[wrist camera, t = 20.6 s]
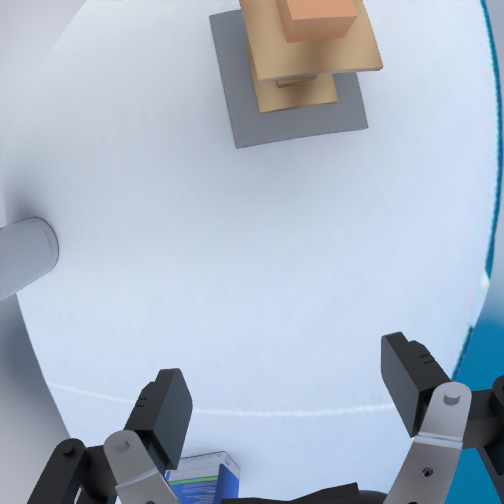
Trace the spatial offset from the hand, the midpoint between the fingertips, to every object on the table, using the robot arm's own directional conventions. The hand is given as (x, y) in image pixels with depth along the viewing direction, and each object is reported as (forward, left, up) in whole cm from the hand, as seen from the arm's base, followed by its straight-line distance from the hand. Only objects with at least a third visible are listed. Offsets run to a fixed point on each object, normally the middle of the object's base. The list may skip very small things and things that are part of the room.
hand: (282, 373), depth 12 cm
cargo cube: (+6, +18, -12) cm, 22 cm away
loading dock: (+6, +19, -30) cm, 36 cm away
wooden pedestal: (+6, +18, -28) cm, 33 cm away
